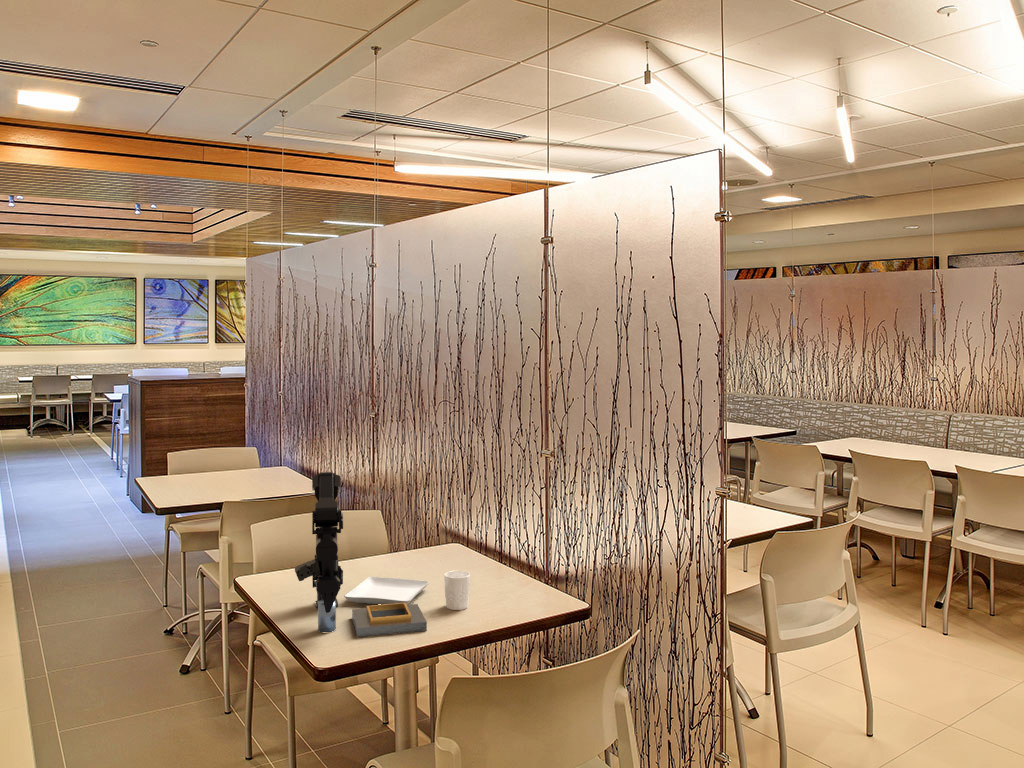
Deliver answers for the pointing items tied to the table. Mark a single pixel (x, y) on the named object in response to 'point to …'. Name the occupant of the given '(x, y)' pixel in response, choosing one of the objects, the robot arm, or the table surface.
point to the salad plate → (386, 590)
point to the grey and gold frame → (388, 619)
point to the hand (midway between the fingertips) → (326, 606)
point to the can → (326, 618)
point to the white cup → (457, 589)
